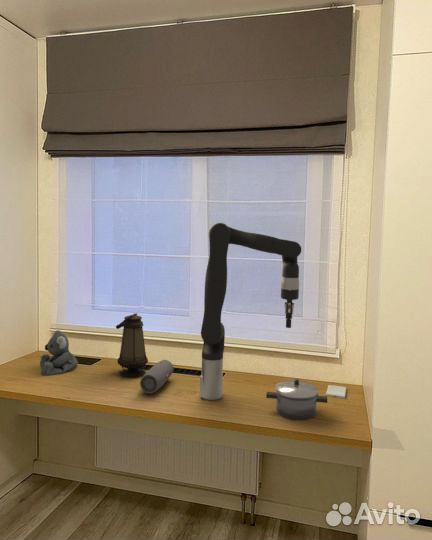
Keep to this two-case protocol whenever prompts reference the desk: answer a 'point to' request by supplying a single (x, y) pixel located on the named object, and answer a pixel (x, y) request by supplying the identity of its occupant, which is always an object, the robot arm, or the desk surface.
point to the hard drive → (336, 391)
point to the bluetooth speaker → (156, 376)
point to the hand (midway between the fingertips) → (288, 327)
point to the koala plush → (57, 356)
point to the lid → (296, 389)
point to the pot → (296, 406)
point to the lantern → (132, 347)
